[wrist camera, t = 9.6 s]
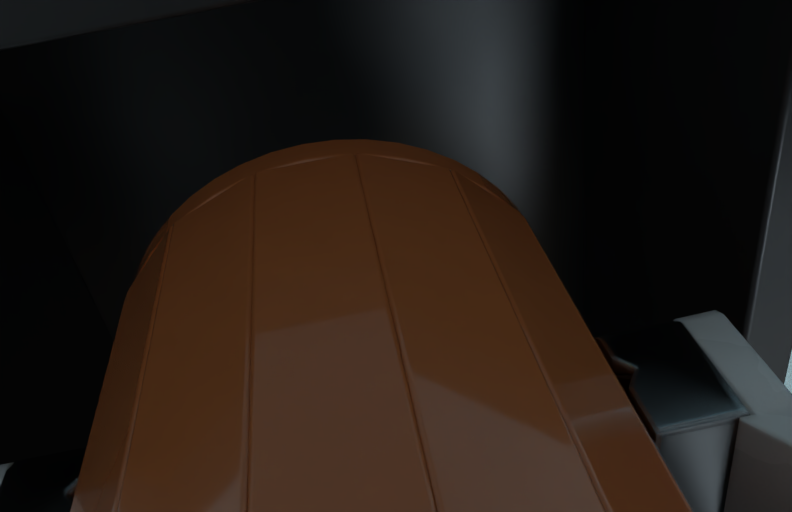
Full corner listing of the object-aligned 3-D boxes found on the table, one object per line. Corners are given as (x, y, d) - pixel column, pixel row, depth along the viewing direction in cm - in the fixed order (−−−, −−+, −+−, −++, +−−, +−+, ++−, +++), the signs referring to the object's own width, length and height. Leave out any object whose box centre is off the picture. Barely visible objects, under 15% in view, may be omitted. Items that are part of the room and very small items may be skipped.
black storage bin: (-130, -97, 13) (-499, 45, 7) (613, -233, 14) (921, -219, 7) (178, 509, 24) (148, 796, 17) (599, 417, 24) (724, 660, 18)
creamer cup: (57, 189, 9) (-172, 662, 4) (540, 95, 9) (831, 443, 4) (201, 501, 12) (163, 954, 7) (552, 425, 12) (723, 821, 8)
